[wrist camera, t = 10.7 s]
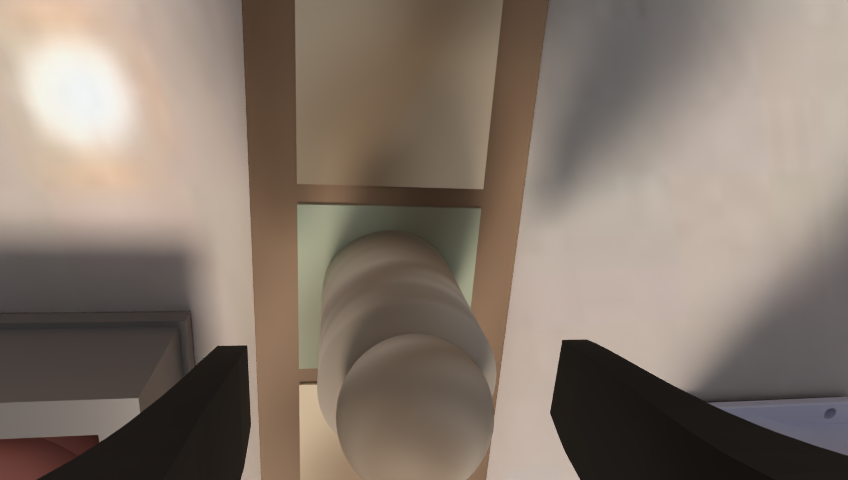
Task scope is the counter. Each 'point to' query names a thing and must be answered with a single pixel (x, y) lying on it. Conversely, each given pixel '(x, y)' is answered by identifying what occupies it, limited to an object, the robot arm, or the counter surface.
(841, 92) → the counter surface
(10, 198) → the counter surface
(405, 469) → the pawn
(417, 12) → the board
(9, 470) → the popper dome
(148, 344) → the frame
